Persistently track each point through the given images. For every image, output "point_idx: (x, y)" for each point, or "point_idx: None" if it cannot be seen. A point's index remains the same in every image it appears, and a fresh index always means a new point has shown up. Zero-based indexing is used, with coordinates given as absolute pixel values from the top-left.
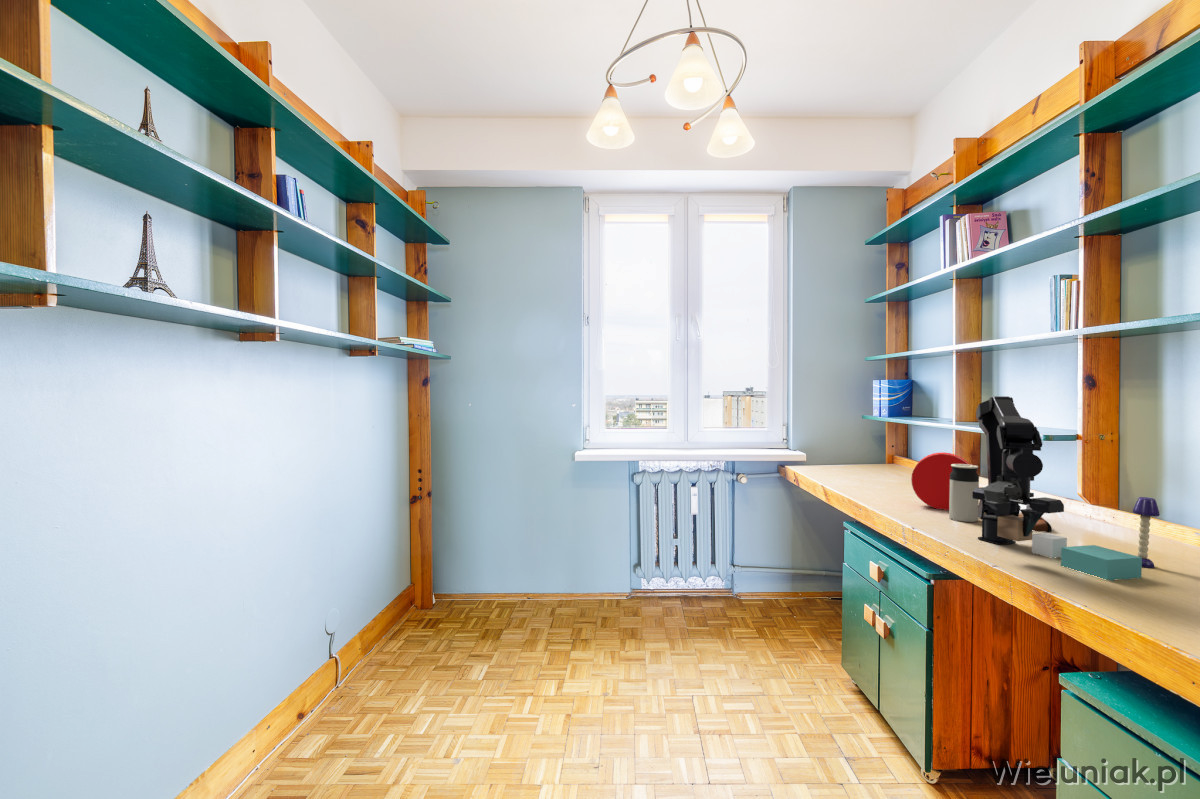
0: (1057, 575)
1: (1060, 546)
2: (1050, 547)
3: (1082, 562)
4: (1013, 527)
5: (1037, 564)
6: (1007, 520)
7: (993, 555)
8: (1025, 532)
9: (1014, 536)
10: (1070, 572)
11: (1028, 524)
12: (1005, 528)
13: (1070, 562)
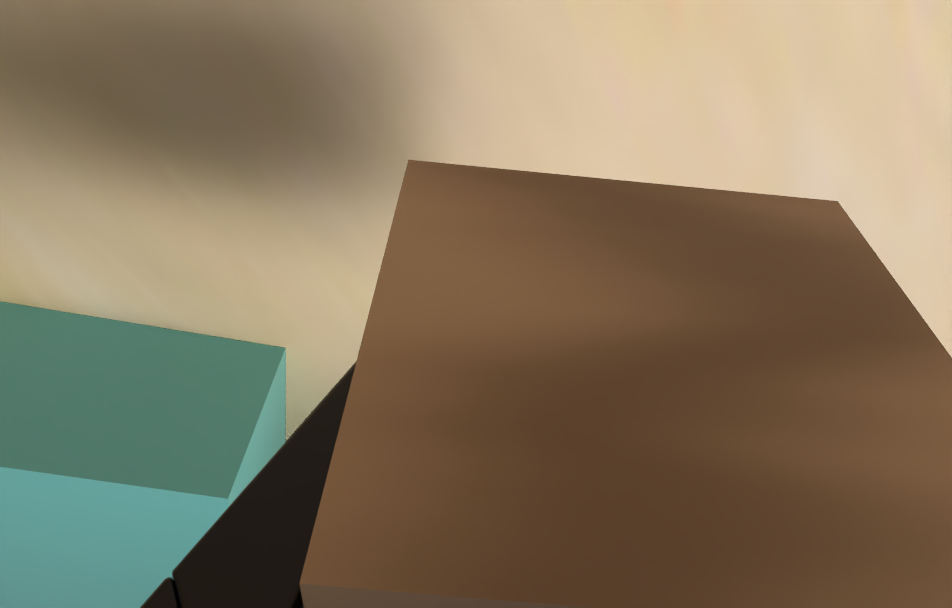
0: (21, 33)
1: None
2: None
3: (52, 389)
4: (495, 366)
5: (384, 238)
6: (729, 549)
7: (797, 144)
8: (328, 405)
9: (474, 216)
10: (123, 256)
11: (173, 592)
12: (715, 322)
13: (179, 380)
